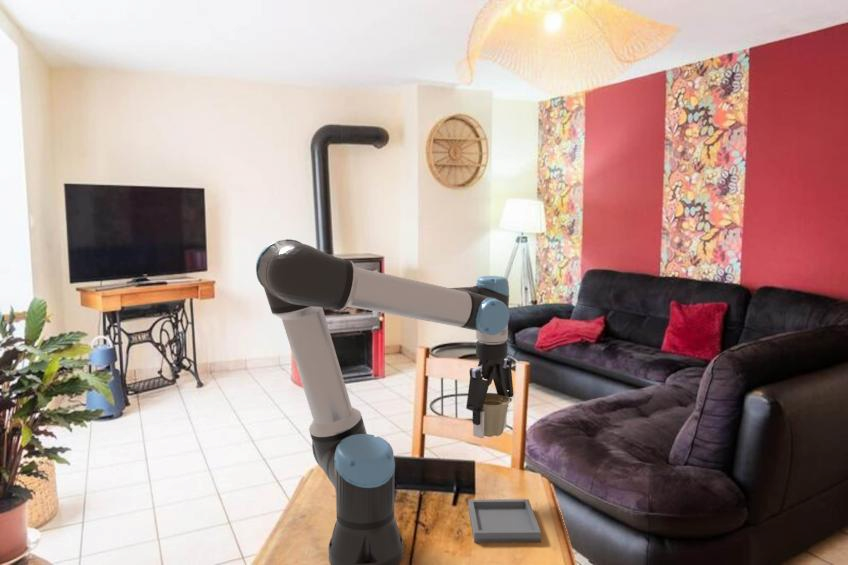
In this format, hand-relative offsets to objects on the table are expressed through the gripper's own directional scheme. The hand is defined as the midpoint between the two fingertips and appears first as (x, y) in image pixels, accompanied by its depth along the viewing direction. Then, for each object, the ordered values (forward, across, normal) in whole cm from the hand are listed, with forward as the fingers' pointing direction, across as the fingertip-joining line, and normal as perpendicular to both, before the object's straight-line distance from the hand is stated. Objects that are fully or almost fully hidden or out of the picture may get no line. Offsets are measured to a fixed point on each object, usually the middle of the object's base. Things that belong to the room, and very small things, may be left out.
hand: (490, 431), depth 149 cm
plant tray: (+15, -11, -12) cm, 22 cm away
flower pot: (+1, 0, 0) cm, 1 cm away
